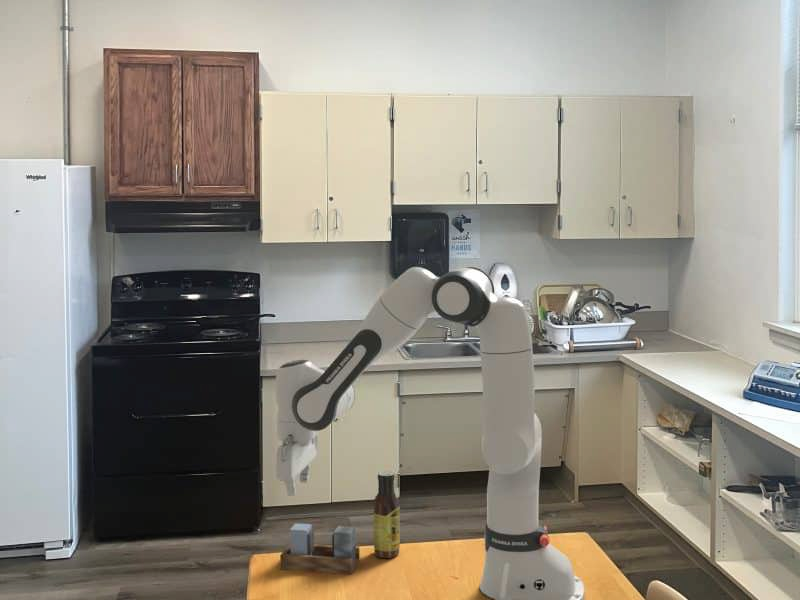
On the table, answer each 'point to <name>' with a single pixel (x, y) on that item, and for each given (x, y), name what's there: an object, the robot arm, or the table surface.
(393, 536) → the sauce bottle
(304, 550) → the blue grey rectangular block
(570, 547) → the table surface
